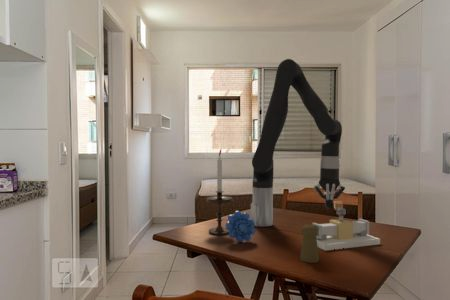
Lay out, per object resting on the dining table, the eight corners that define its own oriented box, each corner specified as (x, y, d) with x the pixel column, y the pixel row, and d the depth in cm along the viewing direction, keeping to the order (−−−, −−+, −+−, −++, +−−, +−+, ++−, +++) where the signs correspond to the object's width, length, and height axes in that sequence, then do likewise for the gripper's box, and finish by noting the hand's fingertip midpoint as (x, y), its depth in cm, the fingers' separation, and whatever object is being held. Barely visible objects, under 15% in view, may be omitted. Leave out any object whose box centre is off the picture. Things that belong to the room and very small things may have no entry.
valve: (324, 250, 121) (325, 221, 121) (303, 240, 135) (303, 213, 134) (380, 244, 129) (380, 216, 129) (354, 234, 143) (354, 209, 142)
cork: (297, 256, 115) (297, 223, 115) (315, 256, 116) (315, 223, 116) (303, 262, 109) (303, 227, 109) (322, 262, 110) (322, 227, 110)
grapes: (228, 246, 126) (228, 213, 126) (224, 241, 132) (224, 210, 132) (259, 244, 129) (259, 212, 128) (253, 239, 135) (253, 208, 135)
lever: (336, 215, 131) (336, 209, 131) (333, 206, 149) (333, 200, 149) (345, 216, 130) (346, 209, 130) (341, 207, 148) (341, 201, 148)
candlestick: (227, 228, 152) (227, 148, 152) (236, 234, 142) (236, 148, 141) (203, 230, 149) (203, 148, 148) (210, 236, 139) (210, 148, 138)
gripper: (343, 166, 149) (341, 207, 149) (311, 166, 149) (310, 206, 150) (348, 168, 141) (347, 210, 142) (315, 167, 142) (314, 210, 142)
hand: (328, 208), depth 146 cm, fingers closed
